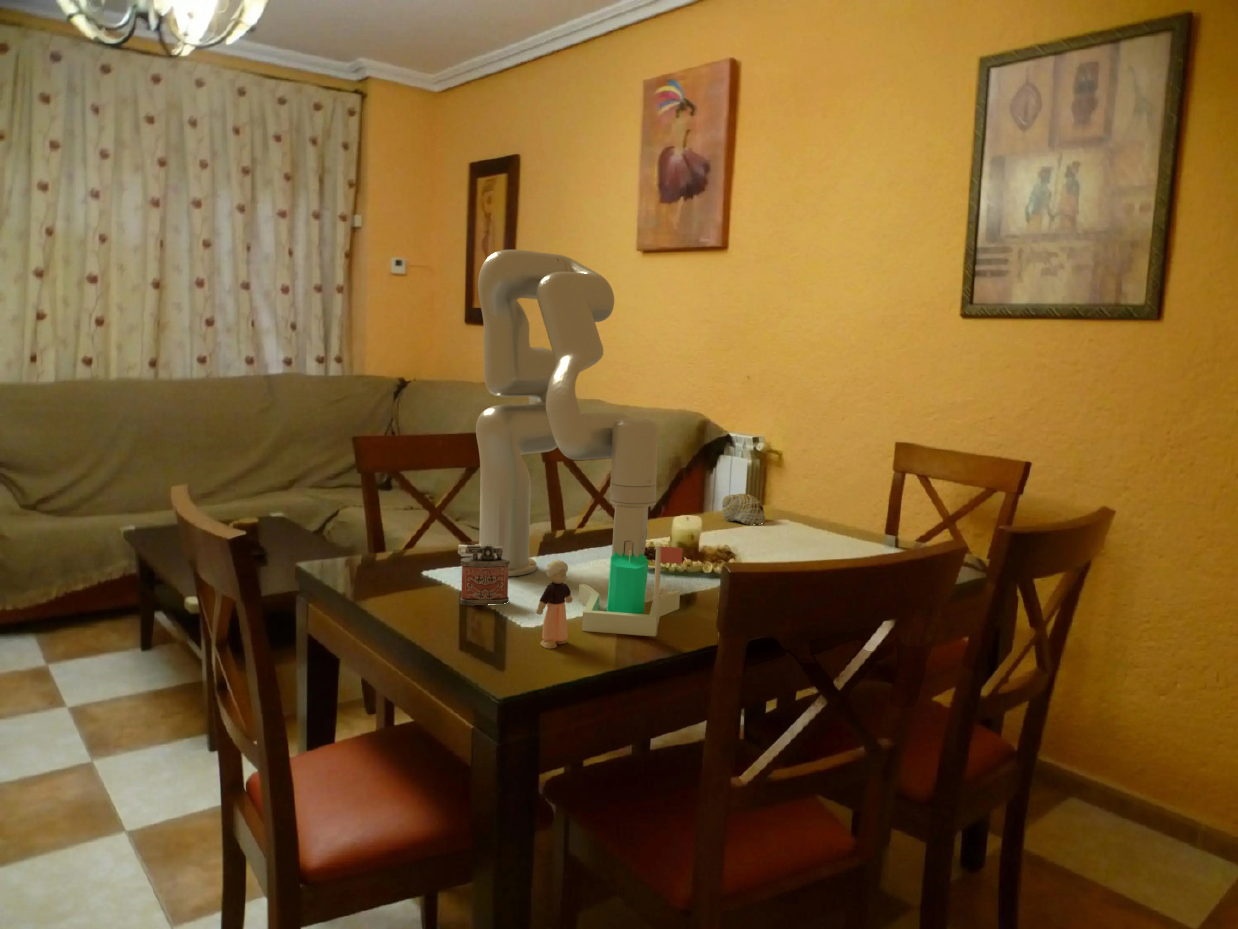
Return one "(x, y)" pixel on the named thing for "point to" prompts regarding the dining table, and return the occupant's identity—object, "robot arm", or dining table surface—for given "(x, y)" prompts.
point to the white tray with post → (630, 621)
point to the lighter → (484, 576)
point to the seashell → (743, 509)
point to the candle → (627, 583)
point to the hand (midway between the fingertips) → (628, 603)
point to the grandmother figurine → (555, 605)
